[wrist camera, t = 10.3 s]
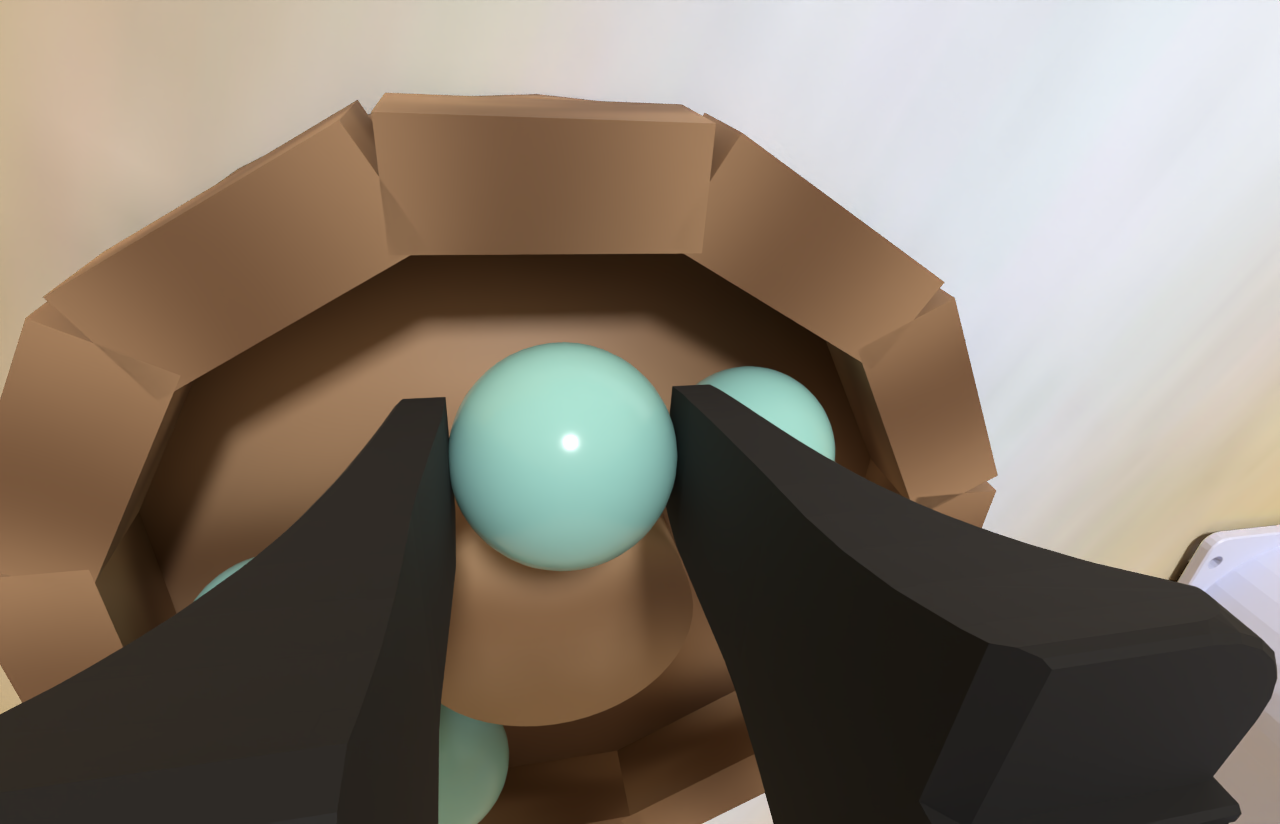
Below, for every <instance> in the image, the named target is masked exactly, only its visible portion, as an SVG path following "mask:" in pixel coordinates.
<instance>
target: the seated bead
mask: <svg viewBox="0 0 1280 824" xmlns="http://www.w3.org/2000/svg"><path fill="white" fill-rule="evenodd" d="M508 766H509V746H508V740H507V735H506V732H505V729H504V727H503V725H499V724H493V723H487V722H483V721H480V720H476V719H472V718H469V717H467V716H464V715H462V714H459V713H457V712H455V711H453V710H451V709H449V708H448V707H446V706H444V705H442V704H441V712H440V727H439V801H438V824H478V823H479V822H480V821H481V820H482V819H483V818H484V817H485V816H486V815H487V814H488V813H489V811H490V810H491V809H492V807H493V806H494V804H495V803H496V801H497V799H498V797H499V795H500V793H501V791H502V789H503V787H504V783H505V780H506V777H507V772H508Z"/></svg>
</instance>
